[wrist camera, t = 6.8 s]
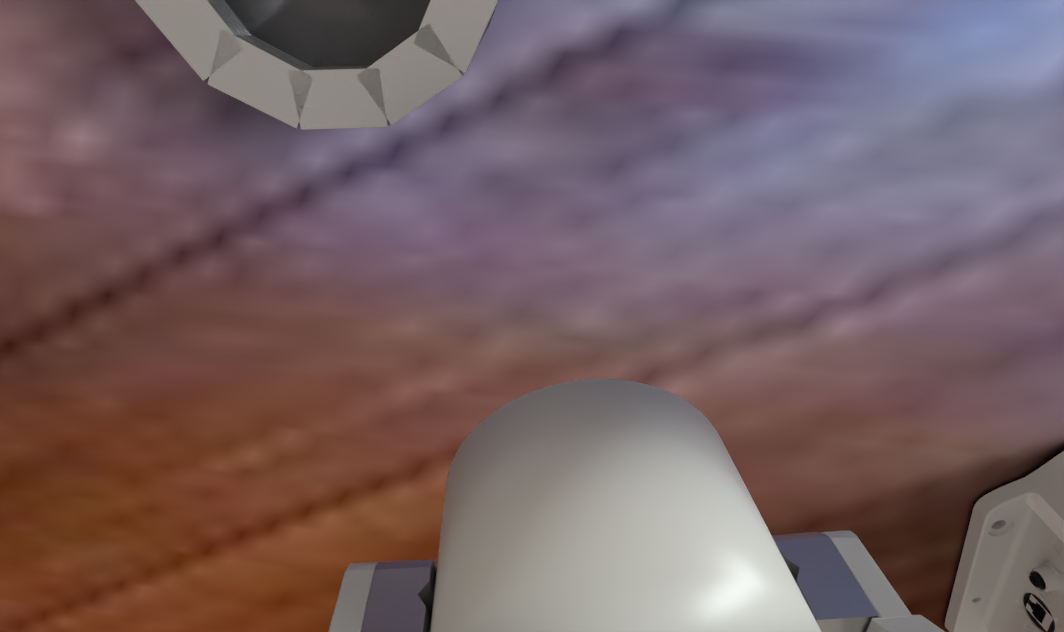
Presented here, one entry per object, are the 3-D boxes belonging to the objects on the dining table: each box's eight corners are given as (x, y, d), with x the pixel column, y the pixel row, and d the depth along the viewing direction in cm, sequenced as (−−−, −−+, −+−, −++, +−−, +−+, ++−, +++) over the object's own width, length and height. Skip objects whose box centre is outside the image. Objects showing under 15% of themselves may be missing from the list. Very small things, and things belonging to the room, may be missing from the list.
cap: (708, 574, 13) (790, 791, 10) (460, 592, 13) (444, 820, 9) (749, 369, 10) (889, 568, 7) (428, 388, 10) (389, 604, 6)
